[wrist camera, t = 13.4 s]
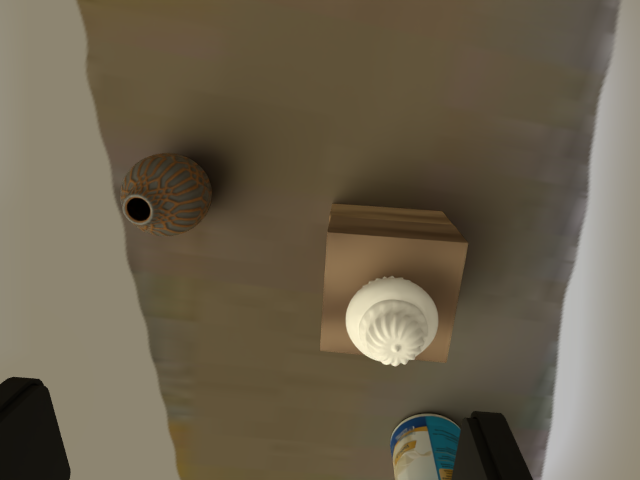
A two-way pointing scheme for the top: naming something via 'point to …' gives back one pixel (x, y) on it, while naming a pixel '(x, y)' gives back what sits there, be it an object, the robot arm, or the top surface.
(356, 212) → the tower base
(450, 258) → the tower top
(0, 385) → the robot arm
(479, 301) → the top surface
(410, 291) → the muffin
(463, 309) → the top surface
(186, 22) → the top surface
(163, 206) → the vase
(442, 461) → the beverage bottle
